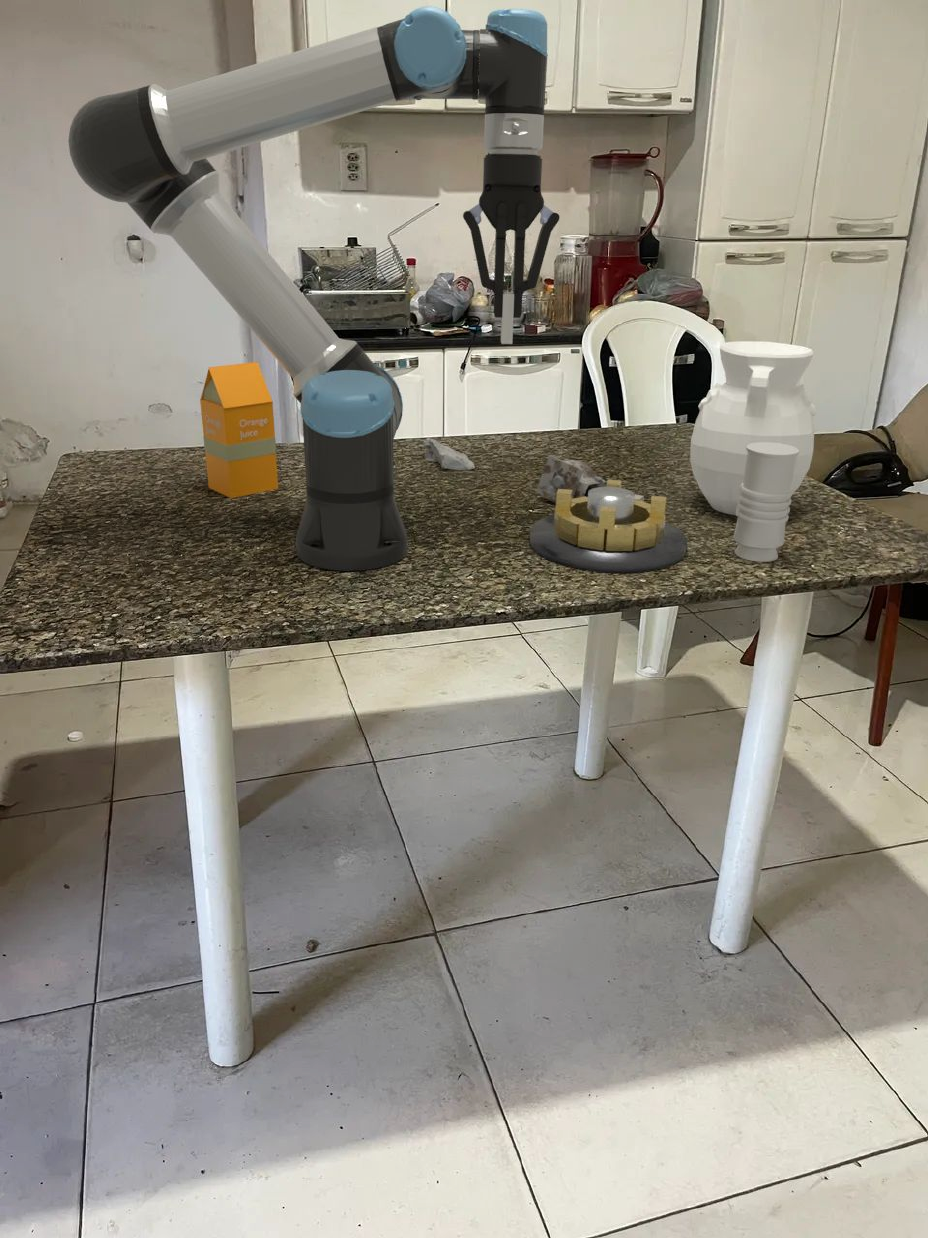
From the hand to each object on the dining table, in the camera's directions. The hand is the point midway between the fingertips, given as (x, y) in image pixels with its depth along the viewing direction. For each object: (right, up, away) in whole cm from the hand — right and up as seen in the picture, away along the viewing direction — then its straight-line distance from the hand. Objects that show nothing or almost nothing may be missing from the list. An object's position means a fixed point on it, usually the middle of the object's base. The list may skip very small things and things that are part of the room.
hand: (506, 342), depth 131 cm
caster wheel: (+13, -20, +22) cm, 32 cm away
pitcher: (+39, -21, +20) cm, 48 cm away
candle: (+35, -30, +1) cm, 46 cm away
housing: (+15, -28, +3) cm, 31 cm away
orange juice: (-42, -17, +25) cm, 52 cm away
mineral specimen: (-9, -11, +41) cm, 43 cm away
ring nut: (+15, -26, +3) cm, 30 cm away
